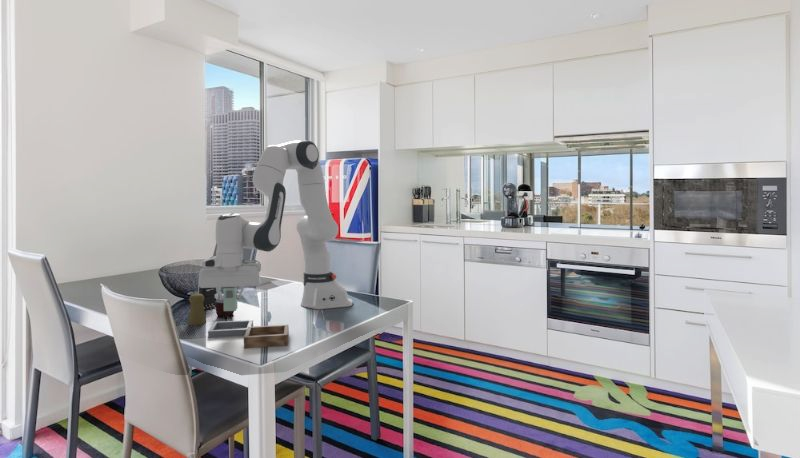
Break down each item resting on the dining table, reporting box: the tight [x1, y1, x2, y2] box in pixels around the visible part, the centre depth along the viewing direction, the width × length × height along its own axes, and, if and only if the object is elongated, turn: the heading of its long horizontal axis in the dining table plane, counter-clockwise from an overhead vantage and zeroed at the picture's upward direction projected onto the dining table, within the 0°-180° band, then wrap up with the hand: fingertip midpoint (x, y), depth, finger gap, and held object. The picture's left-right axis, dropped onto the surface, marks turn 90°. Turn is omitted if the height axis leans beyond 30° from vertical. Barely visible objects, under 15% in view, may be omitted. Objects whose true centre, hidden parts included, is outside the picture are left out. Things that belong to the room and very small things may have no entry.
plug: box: [222, 287, 238, 312], centre depth 157 cm, size 4×5×8 cm
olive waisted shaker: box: [188, 293, 207, 327], centre depth 168 cm, size 6×6×11 cm
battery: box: [197, 284, 218, 312], centre depth 187 cm, size 7×4×11 cm, turn 147°
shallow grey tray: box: [207, 319, 254, 339], centre depth 159 cm, size 13×11×2 cm
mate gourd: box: [215, 296, 235, 320], centre depth 176 cm, size 8×8×15 cm
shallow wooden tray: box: [243, 324, 290, 349], centre depth 149 cm, size 13×11×4 cm
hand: (230, 299), depth 158 cm, fingers closed on plug, 4 cm apart
